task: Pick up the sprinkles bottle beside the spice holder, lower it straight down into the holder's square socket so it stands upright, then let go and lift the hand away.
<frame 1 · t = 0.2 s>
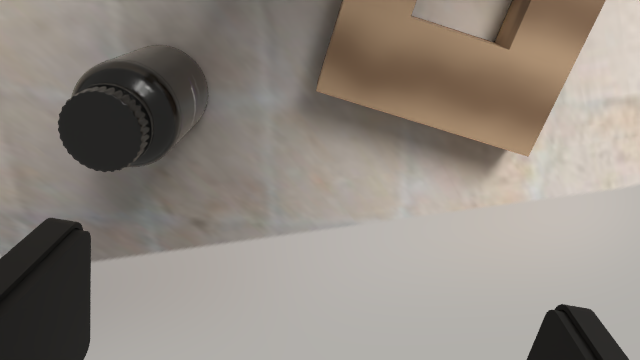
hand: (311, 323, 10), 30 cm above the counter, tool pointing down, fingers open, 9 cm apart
supplement bottle: (167, 87, 40), on the counter
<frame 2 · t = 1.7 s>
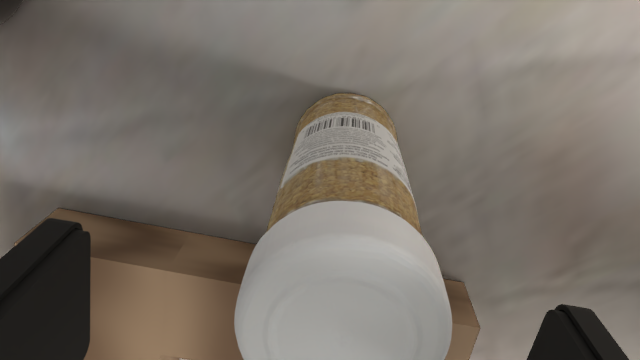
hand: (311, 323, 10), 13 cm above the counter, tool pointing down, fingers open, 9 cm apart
sprinkles bottle: (346, 139, 23), on the counter
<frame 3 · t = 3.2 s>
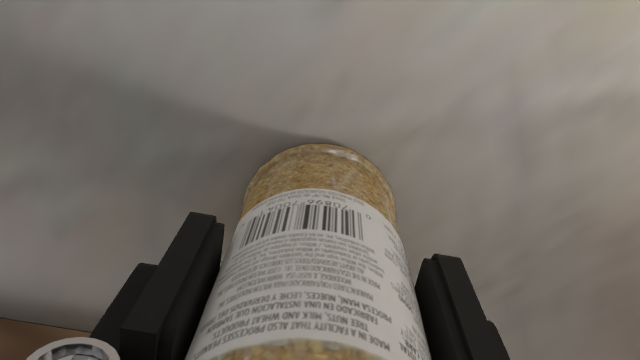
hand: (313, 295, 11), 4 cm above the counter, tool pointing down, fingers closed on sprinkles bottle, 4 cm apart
sprinkles bottle: (321, 207, 16), on the counter, touching gripper
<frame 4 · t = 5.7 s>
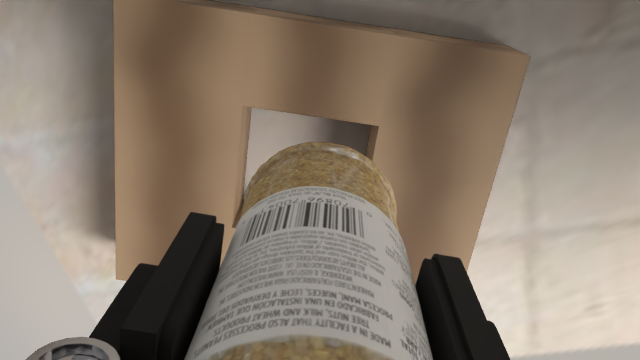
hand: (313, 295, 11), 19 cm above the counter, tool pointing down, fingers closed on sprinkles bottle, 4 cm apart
sprinkles bottle: (321, 205, 16), point 15 cm above the counter, touching gripper
spice holder: (305, 156, 31), on the counter
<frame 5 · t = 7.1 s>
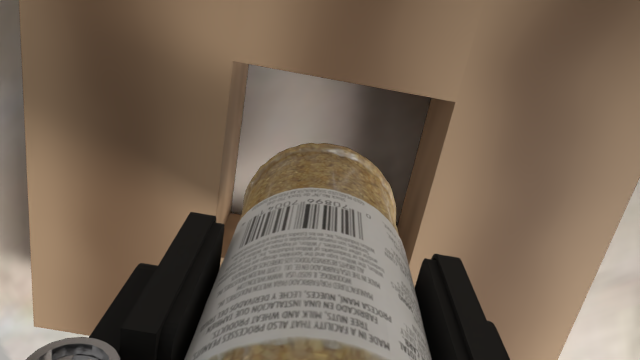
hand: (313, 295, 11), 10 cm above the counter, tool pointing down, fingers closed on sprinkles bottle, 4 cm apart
sprinkles bottle: (321, 206, 16), point 5 cm above the counter, touching gripper
spice holder: (327, 150, 20), on the counter
when the fingers open (6 cm above the counter, at t = 8.3 s): sprinkles bottle drops 1 cm, resting in spice holder.
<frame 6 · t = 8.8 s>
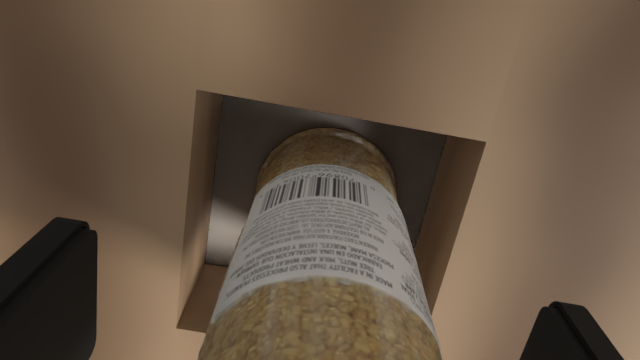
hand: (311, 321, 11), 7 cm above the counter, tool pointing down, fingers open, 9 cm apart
sprinkles bottle: (328, 187, 17), resting in spice holder
spice holder: (321, 190, 17), on the counter
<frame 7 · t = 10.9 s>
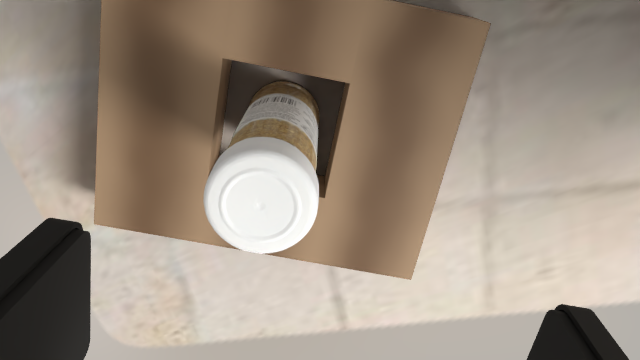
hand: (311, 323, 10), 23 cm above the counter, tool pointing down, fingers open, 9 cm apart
sprinkles bottle: (285, 114, 33), resting in spice holder
spice holder: (281, 115, 32), on the counter
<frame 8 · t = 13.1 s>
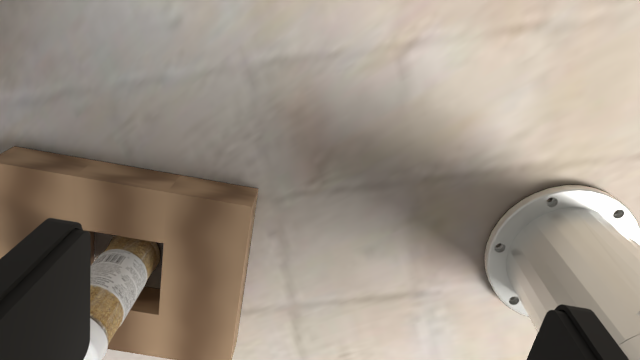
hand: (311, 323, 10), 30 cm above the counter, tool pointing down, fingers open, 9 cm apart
sprinkles bottle: (137, 250, 45), resting in spice holder
spice holder: (133, 251, 45), on the counter
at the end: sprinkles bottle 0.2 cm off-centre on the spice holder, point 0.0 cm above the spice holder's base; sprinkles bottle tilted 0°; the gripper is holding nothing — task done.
